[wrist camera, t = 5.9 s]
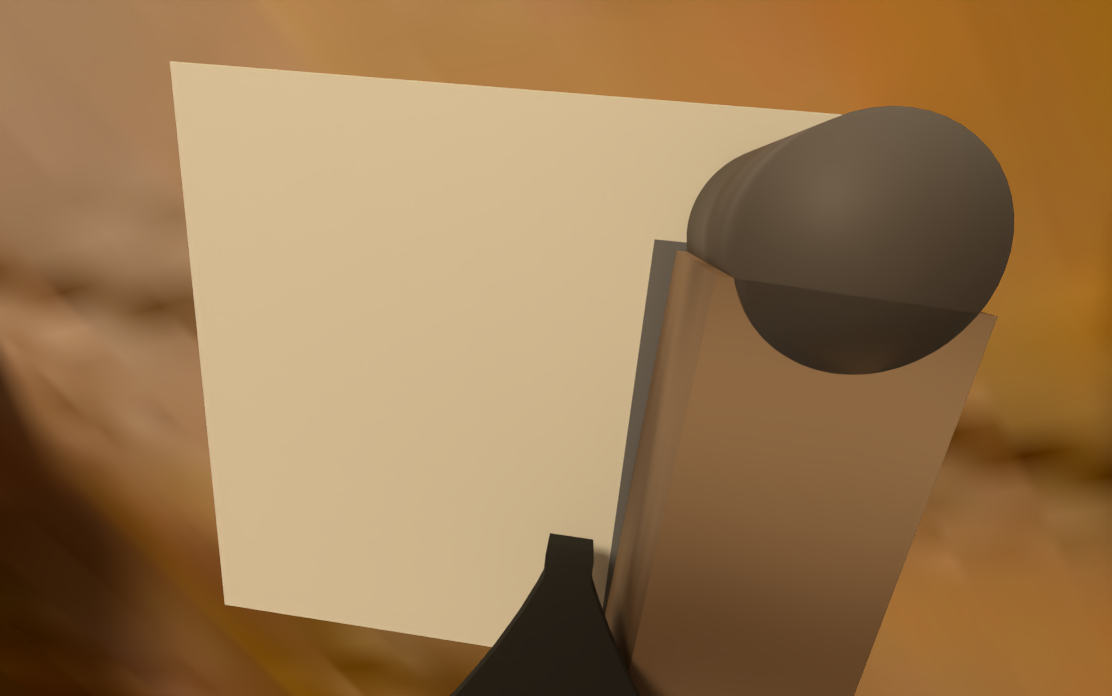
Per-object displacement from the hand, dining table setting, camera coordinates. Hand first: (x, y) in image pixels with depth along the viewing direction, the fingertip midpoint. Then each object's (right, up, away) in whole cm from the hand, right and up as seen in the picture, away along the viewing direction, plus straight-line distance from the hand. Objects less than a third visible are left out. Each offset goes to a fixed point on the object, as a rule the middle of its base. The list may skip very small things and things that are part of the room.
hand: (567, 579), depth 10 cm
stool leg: (+3, +2, 0) cm, 4 cm away
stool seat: (-1, +4, +2) cm, 5 cm away
